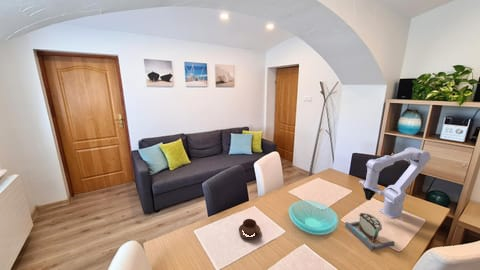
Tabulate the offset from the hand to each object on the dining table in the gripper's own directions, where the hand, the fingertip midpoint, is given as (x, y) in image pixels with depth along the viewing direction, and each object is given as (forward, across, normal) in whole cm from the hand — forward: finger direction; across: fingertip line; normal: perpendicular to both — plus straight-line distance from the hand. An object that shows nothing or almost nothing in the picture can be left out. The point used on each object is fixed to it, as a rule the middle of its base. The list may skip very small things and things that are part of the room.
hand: (368, 199), depth 116 cm
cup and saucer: (+11, -2, -75) cm, 76 cm away
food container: (+11, +15, -12) cm, 22 cm away
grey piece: (+10, +15, -13) cm, 22 cm away
